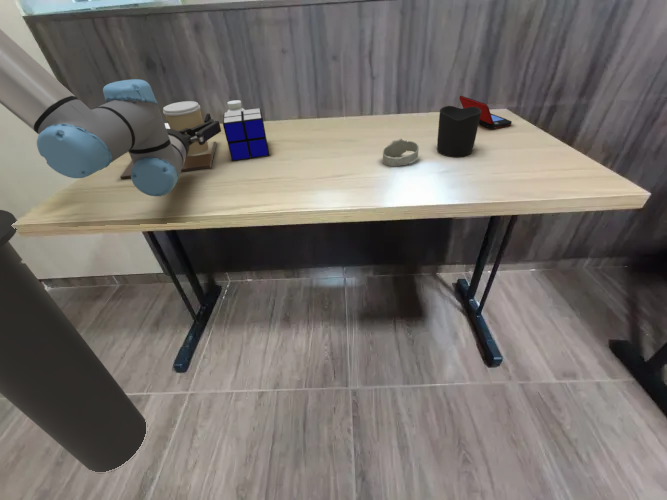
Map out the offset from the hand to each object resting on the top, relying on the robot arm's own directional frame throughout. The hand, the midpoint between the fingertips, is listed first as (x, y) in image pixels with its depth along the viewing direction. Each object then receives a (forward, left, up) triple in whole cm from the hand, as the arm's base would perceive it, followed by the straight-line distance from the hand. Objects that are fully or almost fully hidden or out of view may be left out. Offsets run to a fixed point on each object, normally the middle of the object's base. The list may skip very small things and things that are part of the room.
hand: (183, 121), depth 93 cm
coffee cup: (0, +1, -8) cm, 9 cm away
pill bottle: (+13, +13, -9) cm, 20 cm away
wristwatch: (+53, -22, -9) cm, 58 cm away
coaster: (-12, +18, -9) cm, 24 cm away
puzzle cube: (+16, -3, -9) cm, 19 cm away
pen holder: (+68, -20, -9) cm, 71 cm away
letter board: (-5, -2, -9) cm, 11 cm away
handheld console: (+85, -3, -9) cm, 85 cm away
